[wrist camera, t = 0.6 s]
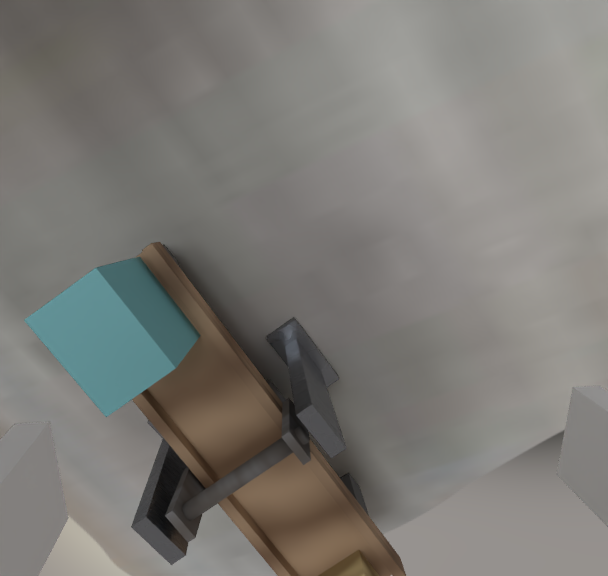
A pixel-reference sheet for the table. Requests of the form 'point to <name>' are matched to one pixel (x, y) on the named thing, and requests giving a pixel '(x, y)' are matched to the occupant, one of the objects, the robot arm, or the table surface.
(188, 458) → the beam
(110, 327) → the block
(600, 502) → the robot arm
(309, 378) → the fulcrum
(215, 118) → the table surface
